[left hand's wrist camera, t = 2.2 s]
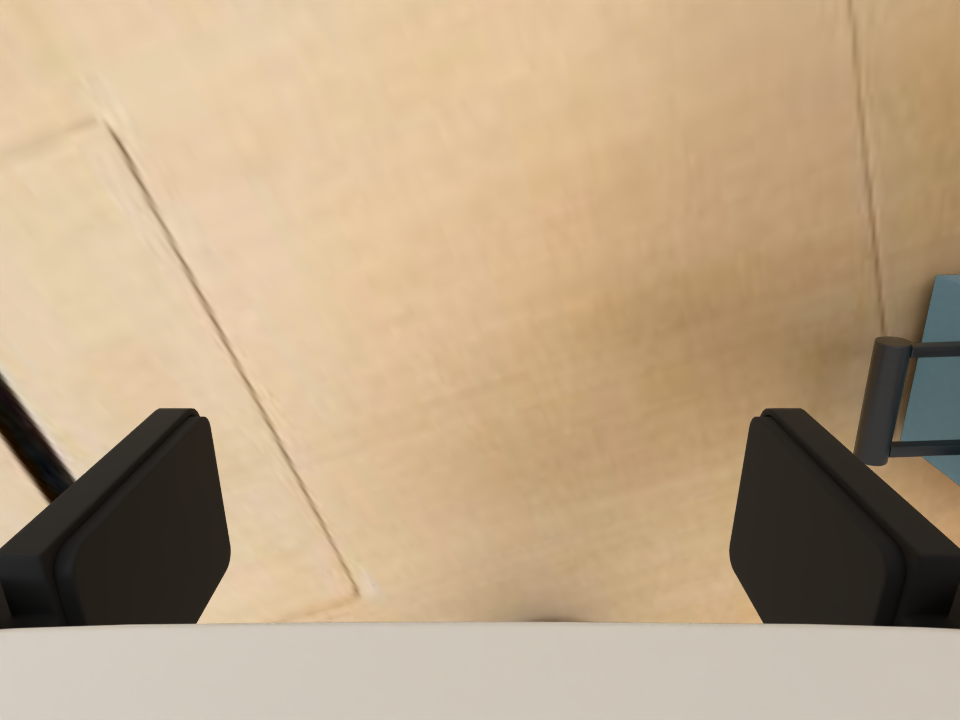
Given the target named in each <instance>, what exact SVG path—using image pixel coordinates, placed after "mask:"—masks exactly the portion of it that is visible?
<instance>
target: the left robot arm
mask: <svg viewBox="0 0 960 720" xmlns="http://www.w3.org/2000/svg"><path fill="white" fill-rule="evenodd" d="M230 554H231V549H230V541H229V535H228V529H227V523H226V517H225V511H224V505H223V499H222V493H221V487H220V481H219V475H218V469H217V463H216V457H215V451H214V445H213V439H212V433H211V427H210V423H209V421H208V419H207V418H206V417H200V416H199V414H198V412H197V411H196V410H195V409H192V408H159V409H157V410H156V411H155V412H153V413H152V414H151V415H150V416H149V417H148V418H147V419H146V420H144V421H143V422H142V423H141V424H140V425H139V426H138V427H136V428H135V429H134V430H133V431H132V432H131V433H130V434H129V435H127V436H126V437H125V438H124V439H123V440H122V441H121V442H120V443H118V444H117V445H116V446H115V447H114V448H113V449H112V450H111V451H109V452H108V453H107V454H106V455H105V456H104V457H103V458H102V459H100V460H99V461H98V462H97V463H96V464H95V465H94V466H93V467H91V468H90V469H89V470H88V471H87V472H86V473H85V474H84V475H82V476H81V477H80V478H79V479H78V480H77V481H76V482H75V483H73V484H72V485H71V486H70V487H69V488H68V489H67V490H66V491H64V492H63V493H62V494H61V495H60V496H59V497H58V498H57V499H55V500H54V501H53V502H52V503H51V504H50V505H49V506H48V507H46V508H45V509H44V510H43V511H42V512H41V513H40V514H39V515H37V516H36V517H35V518H34V519H33V520H32V521H31V522H30V523H28V524H27V525H26V526H25V527H24V528H23V529H22V530H21V531H19V532H18V533H17V534H16V535H15V536H14V537H13V538H12V539H10V540H9V541H8V542H7V543H6V544H5V545H4V546H3V547H1V548H0V720H960V548H959V547H957V546H956V545H955V544H954V543H953V542H952V541H951V540H950V539H948V538H947V537H946V536H945V535H944V534H943V533H942V532H941V531H939V530H938V529H937V528H936V527H935V526H934V525H933V524H932V523H930V522H929V521H928V520H927V519H926V518H925V517H924V516H923V515H921V514H920V513H919V512H918V511H917V510H916V509H915V508H914V507H912V506H911V505H910V504H909V503H908V502H907V501H906V500H905V499H903V498H902V497H901V496H900V495H899V494H898V493H897V492H896V491H894V490H893V489H892V488H891V487H890V486H889V485H888V484H887V483H885V482H884V481H883V480H882V479H881V478H880V477H879V476H878V475H876V474H875V473H874V472H873V471H872V470H871V469H870V468H869V467H867V466H866V465H865V464H864V463H863V462H862V461H861V460H860V459H858V458H857V457H856V456H855V455H854V454H853V453H852V452H851V451H849V450H848V449H847V448H846V447H845V446H844V445H843V444H842V443H840V442H839V441H838V440H837V439H836V438H835V437H834V436H833V435H831V434H830V433H829V432H828V431H827V430H826V429H825V428H824V427H822V426H821V425H820V424H819V423H818V422H817V421H816V420H814V419H813V418H812V417H811V416H810V415H809V414H808V413H807V412H805V411H804V410H802V409H801V408H768V409H765V410H764V411H763V412H762V414H761V416H760V417H754V418H753V419H752V421H751V423H750V427H749V433H748V439H747V445H746V451H745V457H744V463H743V469H742V475H741V481H740V487H739V493H738V499H737V505H736V511H735V517H734V523H733V529H732V535H731V541H730V549H729V554H730V562H731V565H732V568H733V570H734V572H735V574H736V576H737V577H738V579H739V581H740V583H741V584H742V586H743V588H744V590H745V591H746V593H747V595H748V597H749V599H750V600H751V602H752V604H753V606H754V607H755V609H756V611H757V613H758V614H759V616H760V618H761V620H762V621H763V623H764V624H734V623H621V622H319V623H230V624H196V623H197V621H198V620H199V618H200V616H201V614H202V613H203V611H204V609H205V607H206V606H207V604H208V602H209V600H210V599H211V597H212V595H213V593H214V591H215V590H216V588H217V586H218V584H219V583H220V581H221V579H222V577H223V576H224V574H225V572H226V570H227V568H228V565H229V562H230Z"/></svg>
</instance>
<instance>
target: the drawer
mask: <svg viewBox="0 0 960 720" xmlns="http://www.w3.org/2000/svg"><path fill="white" fill-rule="evenodd" d="M909 358H918V361H917V365H916V370H915V375H914V379H913V384H912V388H911V393H910V398H909V402H908V407H907V411H906V416H905V421H904V425H903V430H902V434H901V439H900V440H901V441H898V442H892V438H893V433H894V429H895V424H896V419H897V414H898V410H899V405H900V400H901V396H902V391H903V386H904V381H905V377H906V372H907V367H908V363H909ZM853 454H854V455H855V456H856V457H857V458H858V459H860V460H861V461H862V462H863V463H864V464H867V465H871V466H883V465H885V464H886V463H887V462H888V457H917V456H921V457H923V458H924V459H925V460H927V461H928V462H929V463H930V464H932V465H933V466H934V467H936V468H937V469H938V470H940V471H941V472H942V473H944V474H945V475H946V476H947V477H949V478H950V479H951V480H953V481H954V482H955V483H957V484H958V485H959V486H960V275H958V274H956V275H937V276H936V278H935V282H934V287H933V292H932V296H931V301H930V305H929V310H928V315H927V319H926V324H925V329H924V333H923V338H922V342H921V343H911V342H910V341H908V340H906V339H902V338H898V337H878V338H876V339H875V342H874V347H873V352H872V358H871V363H870V368H869V374H868V379H867V384H866V389H865V395H864V400H863V405H862V410H861V416H860V421H859V426H858V432H857V437H856V442H855V447H854V453H853Z"/></svg>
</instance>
